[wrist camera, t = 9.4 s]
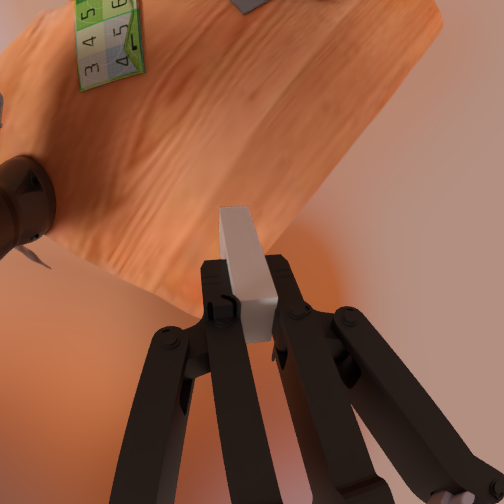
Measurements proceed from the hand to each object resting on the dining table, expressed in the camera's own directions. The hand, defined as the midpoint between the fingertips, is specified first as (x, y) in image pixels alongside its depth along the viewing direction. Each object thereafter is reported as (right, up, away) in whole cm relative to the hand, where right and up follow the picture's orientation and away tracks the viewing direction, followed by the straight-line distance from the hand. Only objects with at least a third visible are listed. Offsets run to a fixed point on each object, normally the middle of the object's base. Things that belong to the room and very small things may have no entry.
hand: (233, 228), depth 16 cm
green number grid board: (-19, +31, +13) cm, 39 cm away
